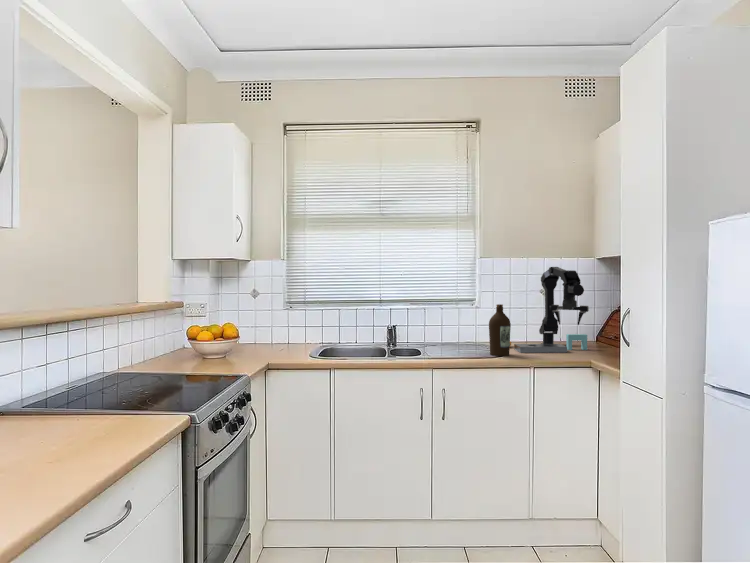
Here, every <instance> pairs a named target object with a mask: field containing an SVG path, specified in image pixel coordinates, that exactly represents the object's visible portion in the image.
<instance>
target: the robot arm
mask: <svg viewBox="0 0 750 563" xmlns="http://www.w3.org/2000/svg"><path fill="white" fill-rule="evenodd" d="M559 279H560V280H561V282H562V286H563V294H562V295H563V297H562V298H563V300H562V304H561V305H559V304H555V292H554V291H555V289H556V287H557V285H558V281H559ZM540 281H541V287H542V288H543V289H544V317H543V319H542V321H541V325H540V326H539V327H540V328H539V330H538V331H539V334H540V335H542V343H540V344H555V342H554V341H555V340H554V337H555V335H558V333H559V332H558V331H559V325H561V316H560V314H561V313H560V311H561V310H564V311H579V312H578V316H577V317H578V318H577V326H579V325H580V323H581V320H582V317H583V315H584V314H586V313H587V312H589V311H590V310H589V309H590V308H589V305H579V306H578V302H577V300H576V296H578V297H579V296H582V295H583V294H584V291H585V289H584V286H583V285H581V284H582V283H581V278H580V276H579V274H578V272H577V270H572V269H571V270H566V269H563V268H561V267H559V266H550V267H548V269H547V270H546V271H545V272H543V273H542V274H541V277H540ZM555 316H556V317H555Z"/></svg>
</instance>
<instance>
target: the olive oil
mask: <svg viewBox="0 0 750 563" xmlns="http://www.w3.org/2000/svg"><path fill="white" fill-rule="evenodd" d="M495 306H496V308H495V310H496V312H495V313H494V314H493V315H492V316H491V317H490V319H489V321H488V333H489V334H488V335H489V336H488V337H489V355H490V356H495V357H506V356H507V357H508V356H510V348H511V346H510V342H511V320H510V318H509V316H507V315H506V313H504V304H500V303H499V304H496V305H495Z"/></svg>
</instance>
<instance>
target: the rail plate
mask: <svg viewBox="0 0 750 563" xmlns="http://www.w3.org/2000/svg"><path fill="white" fill-rule="evenodd" d="M513 349H514V350H515V351H517V352H518V353H521V354H540V353H541V354H548V353H549V354H550V353H552V354H553V353H555V354H556V353H557V354H559V353H560V354H561V353H562V354H563V353H565V354H566V353H567V354H568V350H567V346H566V345H564V344H561V343H554V344H541V343H513Z"/></svg>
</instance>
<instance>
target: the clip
mask: <svg viewBox="0 0 750 563" xmlns="http://www.w3.org/2000/svg"><path fill="white" fill-rule="evenodd" d="M565 335H566V339H565V340H566V345H565V346H567V351H573V341H578V342H580V341H581V342H580V343H581V345H580V347H581V348H580V350H583V351H588V334H586V333H580V334H579V333H575V334H574V333H570V334H569V333H567V334H565Z"/></svg>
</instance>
